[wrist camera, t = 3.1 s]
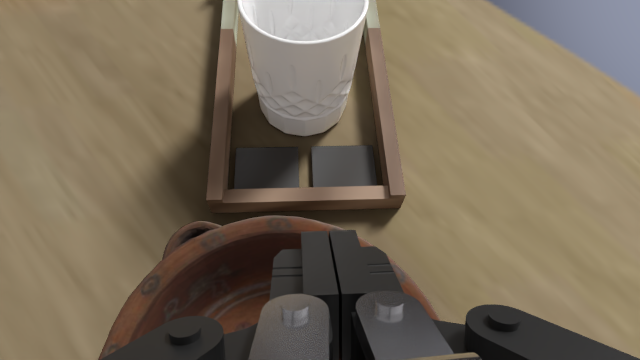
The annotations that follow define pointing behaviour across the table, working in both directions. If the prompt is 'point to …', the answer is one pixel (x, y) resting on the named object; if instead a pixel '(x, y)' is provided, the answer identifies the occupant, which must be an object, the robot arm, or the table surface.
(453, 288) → the table surface
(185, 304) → the dish
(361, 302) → the robot arm
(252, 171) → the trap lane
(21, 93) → the table surface
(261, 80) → the white cup
